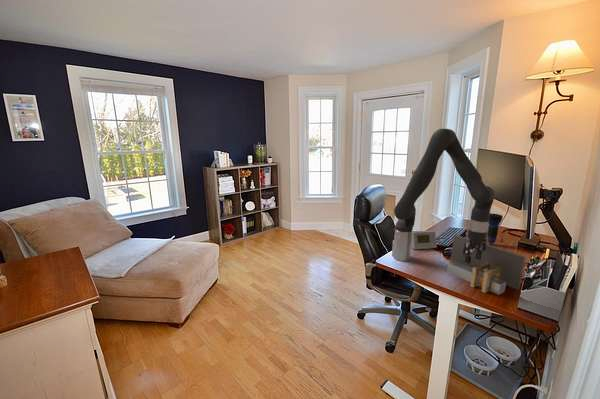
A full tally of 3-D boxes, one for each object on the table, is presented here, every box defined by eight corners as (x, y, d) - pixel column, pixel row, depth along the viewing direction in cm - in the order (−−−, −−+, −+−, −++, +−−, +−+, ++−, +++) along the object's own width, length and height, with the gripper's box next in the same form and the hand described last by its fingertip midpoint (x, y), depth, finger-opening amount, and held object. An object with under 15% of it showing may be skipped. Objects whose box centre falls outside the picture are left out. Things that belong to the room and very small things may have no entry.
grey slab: (446, 271, 136) (447, 262, 135) (452, 269, 139) (454, 260, 138) (498, 295, 116) (500, 284, 114) (504, 291, 118) (506, 281, 117)
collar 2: (481, 291, 118) (484, 272, 116) (496, 284, 124) (499, 265, 122) (485, 292, 117) (488, 273, 115) (499, 285, 123) (502, 267, 120)
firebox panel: (450, 261, 147) (453, 234, 143) (451, 261, 147) (455, 234, 144) (517, 289, 119) (524, 257, 116) (519, 289, 120) (525, 256, 116)
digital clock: (411, 250, 163) (413, 233, 161) (407, 244, 172) (408, 229, 170) (439, 250, 162) (441, 234, 159) (433, 245, 171) (435, 229, 168)
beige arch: (470, 286, 123) (472, 267, 121) (484, 279, 128) (487, 261, 126) (473, 287, 122) (476, 268, 119) (488, 280, 127) (490, 262, 125)
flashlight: (488, 241, 175) (493, 212, 170) (500, 245, 167) (505, 215, 163) (479, 243, 172) (484, 213, 168) (491, 247, 165) (496, 217, 161)
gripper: (478, 224, 129) (473, 254, 133) (460, 229, 123) (455, 260, 126) (495, 229, 122) (489, 260, 126) (477, 234, 116) (471, 267, 120)
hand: (472, 260), depth 126 cm, fingers open, 8 cm apart
